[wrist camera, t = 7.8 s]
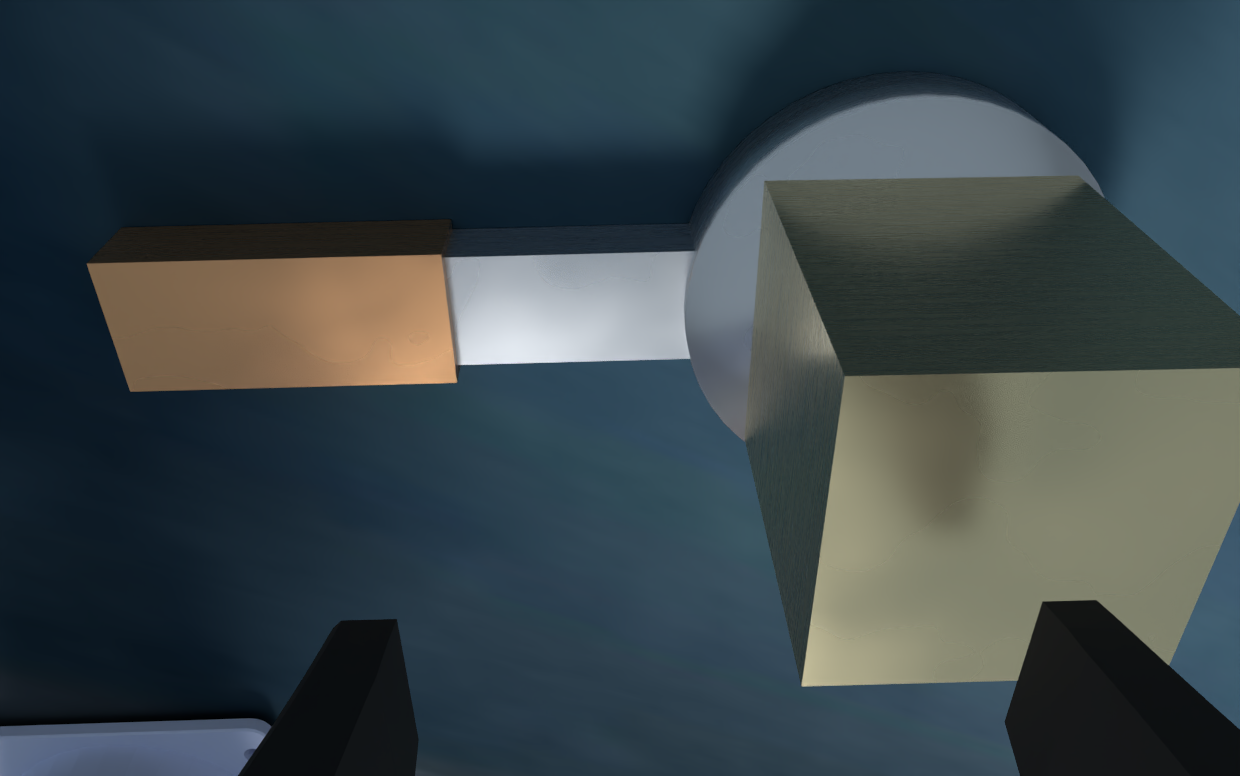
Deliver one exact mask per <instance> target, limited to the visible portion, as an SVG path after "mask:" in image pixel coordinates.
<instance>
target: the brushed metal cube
mask: <svg viewBox="0 0 1240 776" xmlns="http://www.w3.org/2000/svg"><path fill="white" fill-rule="evenodd" d="M745 442H746V447H747V451H748V455H749V460H750V464H751V468H752V473H753V477H754V482H755V486H756V490H757V495H758V499H759V503H760V508H761V512H762V516H763V521H764V525H765V529H766V534H767V538H768V543H769V547H770V551H771V556H772V560H773V564H774V569H775V573H776V577H777V582H778V586H779V590H780V595H781V599H782V603H783V608H784V612H785V617H786V621H787V625H788V630H789V634H790V638H791V643H792V647H793V651H794V656H795V660H796V664H797V669H798V673H799V678H800V682H801V686H835V685H871V684H908V683H945V682H981V681H1018V678H1019V675H1020V672H1021V668H1022V665H1023V662H1024V659H1025V656H1026V652H1027V649H1028V646H1029V643H1030V640H1031V636H1032V633H1033V630H1034V627H1035V624H1036V620H1037V617H1038V614H1039V611H1040V608H1041V604H1042V601H1077V600H1097V601H1098V602H1099V603H1100V604H1102V605H1103V606H1104V607H1105V608H1106V609H1107V610H1108V611H1109V612H1111V613H1112V614H1113V615H1114V616H1115V617H1116V618H1117V619H1118V620H1120V621H1121V622H1122V623H1123V624H1124V625H1125V626H1126V627H1127V628H1128V629H1129V630H1131V631H1132V632H1133V633H1134V634H1135V635H1136V636H1137V637H1138V638H1139V639H1140V640H1142V641H1143V642H1144V643H1145V644H1146V645H1147V646H1148V647H1149V648H1150V649H1151V650H1152V651H1153V652H1155V653H1156V654H1157V655H1158V656H1159V657H1160V658H1161V659H1162V660H1163V661H1164V662H1165V663H1167V664H1168V665H1169V664H1170V662H1171V660H1172V657H1173V655H1174V653H1175V650H1176V648H1177V646H1178V643H1179V641H1180V639H1181V636H1182V634H1183V632H1184V630H1185V627H1186V625H1187V623H1188V620H1189V618H1190V616H1191V613H1192V611H1193V609H1194V606H1195V604H1196V602H1197V600H1198V597H1199V595H1200V593H1201V590H1202V588H1203V586H1204V583H1205V581H1206V579H1207V576H1208V574H1209V572H1210V570H1211V567H1212V565H1213V563H1214V560H1215V558H1216V556H1217V553H1218V551H1219V549H1220V546H1221V544H1222V542H1223V540H1224V537H1225V535H1226V533H1227V530H1228V528H1229V526H1230V523H1231V521H1232V519H1233V516H1234V514H1235V512H1236V510H1237V507H1238V505H1239V503H1240V316H1239V315H1238V314H1237V313H1236V312H1235V311H1234V310H1232V309H1231V308H1230V307H1229V306H1228V305H1227V304H1225V303H1224V302H1223V301H1222V300H1221V299H1220V298H1219V297H1217V296H1216V295H1215V294H1214V293H1213V292H1212V291H1211V290H1209V289H1208V288H1207V287H1206V286H1205V285H1204V284H1202V283H1201V282H1200V281H1199V280H1198V279H1197V278H1196V277H1194V276H1193V275H1192V274H1191V273H1190V272H1189V271H1188V270H1186V269H1185V268H1184V267H1183V266H1182V265H1181V264H1180V263H1178V262H1177V261H1176V260H1175V259H1174V258H1173V257H1171V256H1170V255H1169V254H1168V253H1167V252H1166V251H1165V250H1163V249H1162V248H1161V247H1160V246H1159V245H1158V244H1157V243H1155V242H1154V241H1153V240H1152V239H1151V238H1150V237H1148V236H1147V235H1146V234H1145V233H1144V232H1143V231H1142V230H1140V229H1139V228H1138V227H1137V226H1136V225H1135V224H1134V223H1132V222H1131V221H1130V220H1129V219H1128V218H1127V217H1125V216H1124V215H1123V214H1122V213H1121V212H1120V211H1119V210H1117V209H1116V208H1115V207H1114V206H1113V205H1112V204H1111V203H1109V202H1108V201H1107V200H1106V199H1105V198H1104V197H1102V196H1101V195H1100V194H1099V193H1098V192H1097V191H1096V190H1094V189H1093V188H1092V187H1091V186H1090V185H1089V184H1088V183H1086V182H1085V181H1084V180H1083V179H1082V178H1081V177H1079V176H1019V177H959V178H898V179H838V180H777V181H764V192H763V205H762V218H761V231H760V244H759V257H758V269H757V282H756V295H755V308H754V321H753V334H752V347H751V360H750V373H749V386H748V399H747V412H746V425H745Z"/></svg>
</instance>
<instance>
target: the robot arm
mask: <svg viewBox="0 0 1240 776" xmlns="http://www.w3.org/2000/svg"><path fill="white" fill-rule="evenodd" d="M1005 725H1006V728H1007V732H1008V735H1009V739H1010V742H1011V746H1012V749H1013V753H1014V756H1015V759H1016V763H1017V766H1018V770H1019V773H1020V776H1240V729H1238V728H1237V727H1236V726H1235V725H1234V724H1233V723H1232V722H1231V721H1229V720H1228V719H1227V718H1226V717H1225V716H1224V715H1223V714H1222V713H1220V712H1219V711H1218V710H1217V709H1216V708H1215V707H1214V706H1213V705H1212V704H1210V703H1209V702H1208V701H1207V700H1206V699H1205V698H1204V697H1203V696H1202V695H1201V694H1199V693H1198V692H1197V691H1196V690H1195V689H1194V688H1193V687H1192V686H1191V685H1190V684H1188V683H1187V682H1186V681H1185V680H1184V679H1183V678H1182V677H1181V676H1180V675H1179V674H1177V673H1176V672H1175V671H1174V670H1173V669H1172V668H1171V667H1170V666H1169V665H1168V664H1167V663H1165V662H1164V661H1163V660H1162V659H1161V658H1160V657H1159V656H1158V655H1157V654H1156V653H1155V652H1153V651H1152V650H1151V649H1150V648H1149V647H1148V646H1147V645H1146V644H1145V643H1144V642H1143V641H1142V640H1140V639H1139V638H1138V637H1137V636H1136V635H1135V634H1134V633H1133V632H1132V631H1131V630H1129V629H1128V628H1127V627H1126V626H1125V625H1124V624H1123V623H1122V622H1121V621H1120V620H1118V619H1117V618H1116V617H1115V616H1114V615H1113V614H1112V613H1111V612H1109V611H1108V610H1107V609H1106V608H1105V607H1104V606H1103V605H1102V604H1100V603H1099V602H1098V601H1097V600H1077V601H1042V604H1041V608H1040V611H1039V614H1038V617H1037V620H1036V624H1035V627H1034V630H1033V633H1032V636H1031V640H1030V643H1029V646H1028V649H1027V652H1026V656H1025V659H1024V662H1023V665H1022V668H1021V672H1020V675H1019V678H1018V681H1017V684H1016V687H1015V691H1014V694H1013V697H1012V700H1011V703H1010V707H1009V710H1008V713H1007V716H1006V719H1005ZM417 749H418V734H417V729H416V723H415V718H414V712H413V707H412V701H411V696H410V690H409V685H408V679H407V673H406V668H405V662H404V657H403V651H402V646H401V640H400V635H399V629H398V624H397V619H384V620H348V621H341V622H339V623H338V624H337V625H336V626H335V627H334V628H333V629H332V631H331V632H330V634H329V636H328V637H327V639H326V641H325V643H324V644H323V646H322V648H321V649H320V651H319V653H318V654H317V656H316V658H315V659H314V661H313V663H312V664H311V666H310V668H309V669H308V671H307V672H306V674H305V676H304V677H303V679H302V680H301V682H300V684H299V685H298V687H297V688H296V690H295V692H294V693H293V695H292V696H291V698H290V699H289V701H288V702H287V704H286V705H285V707H284V709H283V710H282V712H281V713H280V715H279V716H278V718H277V719H276V721H275V722H274V724H273V725H272V727H271V726H270V725H269V724H268V723H266V722H265V721H263V720H260V719H254V718H240V719H210V720H179V721H148V722H118V723H87V724H56V725H26V726H0V776H415V769H416V759H417Z"/></svg>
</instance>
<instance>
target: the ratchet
mask: <svg viewBox="0 0 1240 776" xmlns="http://www.w3.org/2000/svg"><path fill="white" fill-rule="evenodd" d="M1019 176H1079V177H1081V178H1082V179H1083V180H1084V181H1085V182H1086V183H1088V184H1089V185H1090V186H1091V187H1092V188H1093V189H1094V190H1096V191H1097V192H1098V193H1099V194H1100V195H1101V196H1102V197H1104V196H1103V193H1102V191H1101V189H1100V187H1099V184H1098V183H1097V181H1096V180H1095V178H1094V177H1093V175H1092V174H1091V172H1090V171H1089V169H1088V168H1087V166H1086V165H1085V163H1084V162H1083V161H1082V160H1081V159H1080V158H1079V157H1078V156H1077V155H1076V154H1075V153H1074V152H1073V151H1072V150H1071V149H1070V148H1069V147H1068V146H1067V144H1065V143H1064V142H1063V141H1062V140H1061V139H1059V138H1058V137H1057V136H1056V135H1055V134H1053V133H1052V132H1051V131H1050V130H1048V129H1047V128H1046V127H1045V126H1044V125H1042V124H1041V123H1040V122H1039V121H1038V120H1036V119H1035V118H1034V117H1033V116H1032V115H1030V114H1029V113H1028V112H1026V111H1025V110H1024V109H1022V108H1021V107H1020V106H1018V105H1017V104H1016V103H1014V102H1013V101H1012V100H1010V99H1009V98H1007V97H1005V96H1003V95H1002V94H1000V93H998V92H996V91H994V90H992V89H990V88H988V87H986V86H984V85H981V84H978V83H975V82H972V81H969V80H966V79H963V78H960V77H954V76H949V75H944V74H938V73H932V72H910V71H902V72H891V73H880V74H873V75H868V76H863V77H859V78H854V79H850V80H846V81H843V82H840V83H837V84H834V85H832V86H829V87H826V88H823V89H820V90H818V91H816V92H814V93H812V94H810V95H808V96H806V97H804V98H801V99H799V100H797V101H795V102H793V103H791V104H790V105H788V106H787V107H785V108H784V109H782V110H781V111H779V112H778V113H776V114H775V115H773V116H772V117H770V118H769V119H767V120H766V121H765V122H763V123H762V124H761V125H760V126H759V127H757V128H756V129H755V130H754V131H753V132H751V133H750V134H749V135H748V136H747V137H746V138H744V139H743V140H742V142H741V143H740V144H739V145H738V146H737V147H736V148H735V149H734V150H733V151H732V152H731V153H730V154H729V155H728V157H727V158H726V159H725V160H724V161H723V163H722V164H721V165H720V167H719V168H718V170H717V171H716V172H715V174H714V175H713V176H712V178H711V179H710V181H709V182H708V184H707V186H706V187H705V189H704V191H703V193H702V195H701V197H700V198H699V200H698V202H697V204H696V206H695V209H694V211H693V214H692V216H691V219H690V222H689V223H685V224H645V225H606V226H566V227H527V228H487V229H452V222H451V219H442V220H402V221H362V222H323V223H283V224H243V225H203V226H163V227H123V228H121V229H120V230H119V231H118V232H117V233H116V234H115V235H114V236H113V237H112V238H111V239H110V240H109V241H108V242H107V243H106V244H105V245H104V246H103V247H102V248H101V249H100V250H99V251H98V252H97V253H96V254H95V255H94V257H93V258H92V259H91V260H90V261H89V262H88V263H87V266H88V269H89V272H90V275H91V278H92V281H93V284H94V287H95V290H96V293H97V296H98V299H99V302H100V304H101V307H102V310H103V313H104V316H105V319H106V322H107V325H108V328H109V331H110V334H111V337H112V340H113V343H114V345H115V348H116V351H117V354H118V357H119V360H120V363H121V366H122V369H123V372H124V375H125V378H126V381H127V384H128V387H129V389H130V392H140V391H176V390H212V389H248V388H284V387H320V386H356V385H393V384H429V383H457V380H458V376H459V371H460V366H461V365H476V364H512V363H548V362H585V361H621V360H658V359H691V364H692V367H693V370H694V372H695V375H696V378H697V380H698V383H699V386H700V388H701V389H702V391H703V393H704V395H705V397H706V398H707V400H708V402H709V404H710V405H711V407H712V408H713V409H714V411H715V412H716V413H717V414H718V416H719V417H720V418H721V420H722V421H723V422H724V423H725V424H726V425H727V426H728V427H729V428H730V429H731V430H732V431H733V432H734V433H735V434H736V435H737V436H738V437H739V438H740V439H742V440H743V441H745V425H746V412H747V399H748V386H749V373H750V360H751V347H752V334H753V321H754V308H755V295H756V282H757V269H758V257H759V244H760V231H761V218H762V205H763V192H764V181H777V180H838V179H898V178H959V177H1019Z"/></svg>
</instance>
